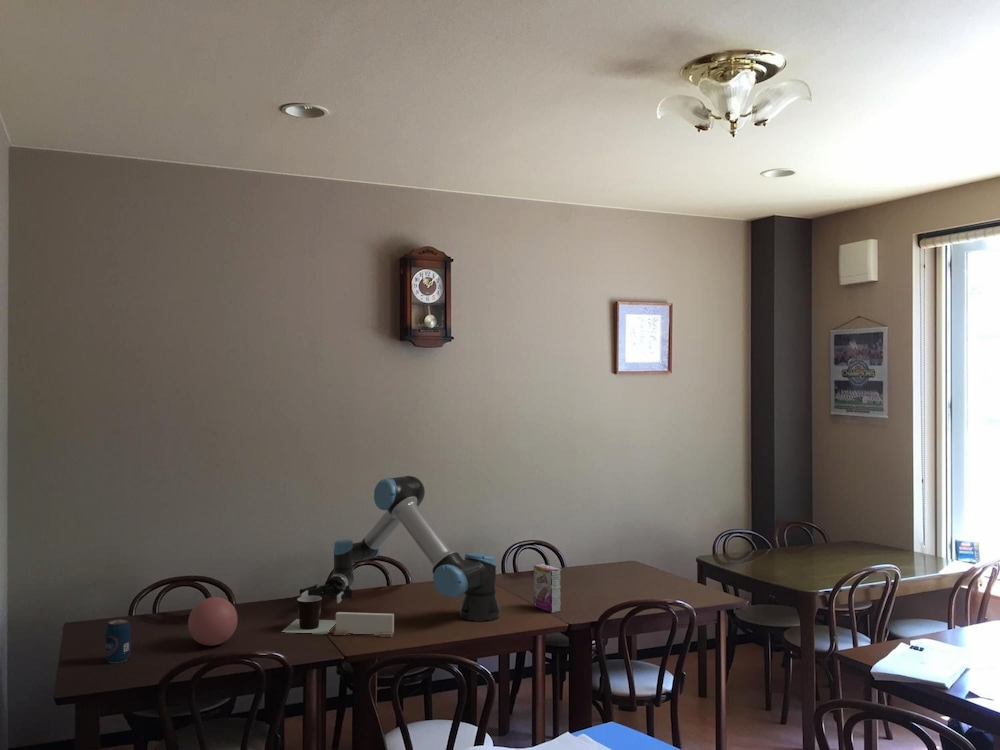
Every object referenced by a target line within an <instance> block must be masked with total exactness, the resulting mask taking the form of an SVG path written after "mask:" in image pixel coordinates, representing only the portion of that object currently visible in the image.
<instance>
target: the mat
mask: <svg viewBox="0 0 1000 750" xmlns="http://www.w3.org/2000/svg"><path fill="white" fill-rule="evenodd" d="M335 624H336V619H319V626H318V628H316V629H311V630H304V629H301V628H300V623H299V618H296V619H294V620H293V622H291V623H290V624H289V625H287V626H286V627H285V628H284V629H283V630H282V631H281V632H285V633H284V634H295V633H312V634H311V635H324V634H326V635H327V634H328V633H329V632H330V631H331V630H332V629H333V628H334V627H335V626H336V625H335ZM334 625H335V626H334ZM333 626H334V627H333ZM332 627H333V628H332ZM331 628H332V629H331ZM330 629H331V630H330ZM329 630H330V631H329Z"/></svg>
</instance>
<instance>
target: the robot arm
mask: <svg viewBox="0 0 1000 750" xmlns="http://www.w3.org/2000/svg"><path fill="white" fill-rule="evenodd" d="M373 493H374V494H373V501H374V503H375V505H376V507H377V508H378V509H379V510H381V511H385V512H384V514H383V515H382V516H381V518H379V520H378V521H377V522H376V523H375V524H374V526H373V527H372V528H371V529H370V530H369V532H368V533H367V534H366V536H364V538H363V539H362V540H361V541H359V542H354V541H353V540H351V539H340V540H339V539H338V540H336V541H334V544H333V575H331V577H330V578H328V579H327V580H326V581H325V583H324V585H319V584H314V585H312V586H309V587H305V588H301V589H299V597H303V596H329V597H330V598H336V604H340V603H341V602H342V601H343V600H347V599H348V598H349V599H353V590H352V589H351V588H350V587H351V586H352V585H353V583H354V581H355V579H356V575H355V573H354V570H353V569H354V568H353V565H354V564H353V563H356V562H360V561H365V560H371V559H374V558H376V557H378V556H379V555H380V554H381V551H382V545H384V543H385V542H386V541H387V540H388V538H389V537H391V535H392V534H393V532H394V531H395V530H396V529H397V528H398V526H400V525H401V524H402V525H403V527H404V528H405V529H406V531H407V532H408V534H409V535H410V536H411V538H412V539H413V540H414V542H415V543H416V544H417V545H418V547H419V548H420V550H421V552H422V554H424V556H425V557H426V559H427V560H428V561H429V563H430V564H431V565H432V569H431V573H432V574H433V575H432V579H433V585H434V587H435V589H436V591H438V593H439V594H440V595H442V596H444V597H446V598H454V597H460V596H462V595H464V597H463V599H462V601H461V606H460V608H459V617H460V618H461V619H463V620H466V619H467V620H466V621H470V620H474V621H473V622H486V621H485V620H489V621H493V620H492V619H494V620H497V619H499V618H500V617H499V616H501V609H500V605H499V602H498V598H497V596H496V595H497V594H496V584H497V583H496V581H497V580H496V578H497V574H496V573H497V570H496V569H497V563H496V561H497V560H496V557H495V555H491V554H486V553H474V552H468V553H465V555H464V559H463V557H462V556H461V555H460V554H459V552H458V551H452V550H451V549H450V547H449V546H448V544H447V543H446V542H445V540H444V539H443V538H442V536H441V535H440V534H439V532H438V531H437V530H436V529H435V527H434V526H433V525H432V523H431V521H430V520H429V519H428V518H427V517H426V515H425V513H423V511H422V510H421V508H420V507H419V506H420V505H421V504H422V502H423V500H424V497H425V495H426V494H425V493H426V491H425V486H424V484H423V482H422V481H421V480H420V478H418V477H415V476H412V475H405V476H398V477H397V476H396V477H387V478H383V479H380V480H379V481H378V483H377V484H376V485H375V488H374V491H373ZM498 617H499V618H498ZM496 618H497V619H496Z"/></svg>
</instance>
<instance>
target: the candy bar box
mask: <svg viewBox="0 0 1000 750" xmlns="http://www.w3.org/2000/svg"><path fill="white" fill-rule="evenodd" d="M561 571H562V569H561V568H558V567H554V566H551V565H548V564H544V563H540V564H535V565H533V608H536V607H537V609H540V610H542V611H545V612H547V613H551V614H553V613H554V612H555V613H559V612H561V611H562V609H561V608H562V607H561V605H562V604H561V602H562V601H561V600H562V598H561V596H562V592H561V591H562V590H561V589H562V583H561V582H562V581H561V578H562V576H561V575H562V573H561Z"/></svg>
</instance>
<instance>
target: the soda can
mask: <svg viewBox="0 0 1000 750" xmlns="http://www.w3.org/2000/svg"><path fill="white" fill-rule="evenodd" d="M104 653H105V656H104V658H105V660H106V661H107V662H108V663H109V664H120V663H119V662H121V663H124V662H126V661H128V660H129V658H130V656H131V624H130V622H129V619H127V618H116V619H112V620H109V621H108V622H107V625H106V627H105V652H104ZM123 661H124V662H123Z"/></svg>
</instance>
